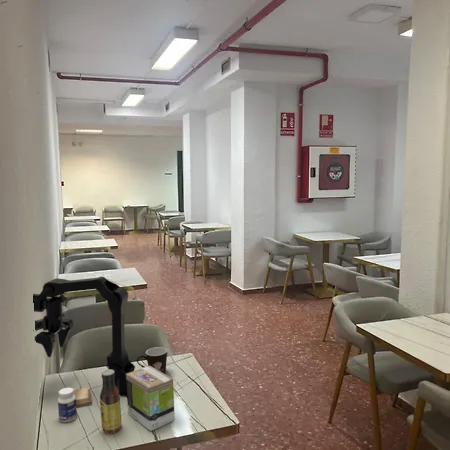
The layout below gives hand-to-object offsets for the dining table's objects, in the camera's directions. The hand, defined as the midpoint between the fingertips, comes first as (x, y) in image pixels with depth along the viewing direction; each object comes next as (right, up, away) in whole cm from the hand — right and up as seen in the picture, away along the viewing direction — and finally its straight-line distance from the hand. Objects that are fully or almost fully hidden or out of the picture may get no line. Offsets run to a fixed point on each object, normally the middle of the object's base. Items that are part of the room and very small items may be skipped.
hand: (55, 351), depth 167 cm
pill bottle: (+12, -17, -19) cm, 28 cm away
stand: (+11, -16, -7) cm, 20 cm away
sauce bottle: (+28, -18, -26) cm, 42 cm away
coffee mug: (+36, -13, +12) cm, 40 cm away
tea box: (+40, -17, -19) cm, 47 cm away
